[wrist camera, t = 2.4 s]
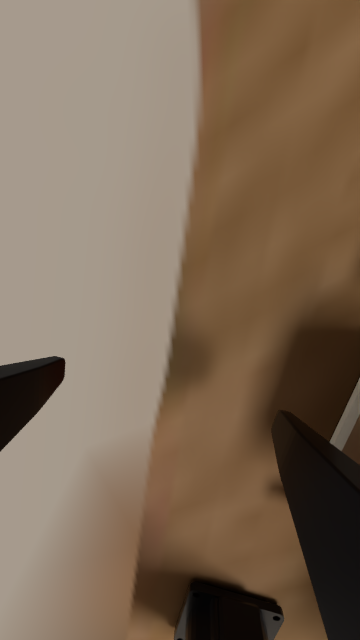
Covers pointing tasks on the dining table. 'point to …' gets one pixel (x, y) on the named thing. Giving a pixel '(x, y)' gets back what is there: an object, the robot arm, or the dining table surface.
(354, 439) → the paddle block
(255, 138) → the dining table surface
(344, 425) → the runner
